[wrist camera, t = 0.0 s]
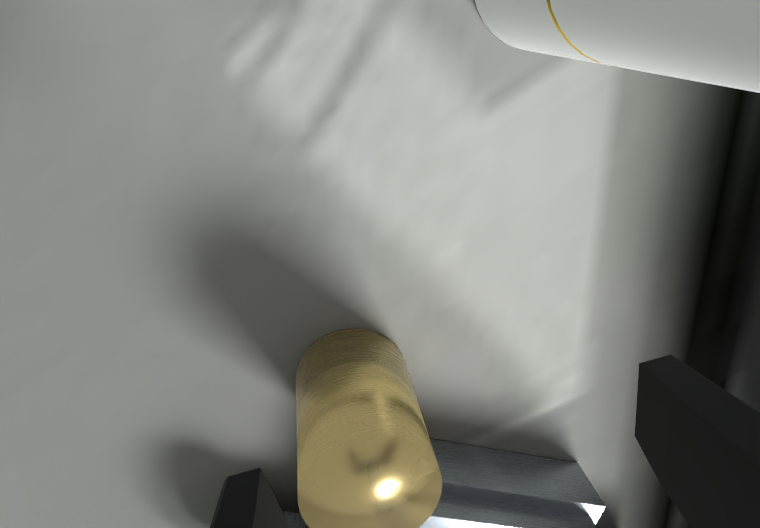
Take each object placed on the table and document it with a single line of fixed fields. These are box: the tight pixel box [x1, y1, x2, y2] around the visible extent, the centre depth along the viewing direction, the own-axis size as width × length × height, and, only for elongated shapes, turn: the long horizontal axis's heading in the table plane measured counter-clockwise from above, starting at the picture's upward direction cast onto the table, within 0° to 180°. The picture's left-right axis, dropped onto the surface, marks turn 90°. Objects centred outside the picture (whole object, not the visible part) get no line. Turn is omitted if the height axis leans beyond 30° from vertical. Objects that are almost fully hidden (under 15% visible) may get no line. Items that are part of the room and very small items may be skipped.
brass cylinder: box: [296, 328, 442, 528], centre depth 20 cm, size 4×4×6 cm
